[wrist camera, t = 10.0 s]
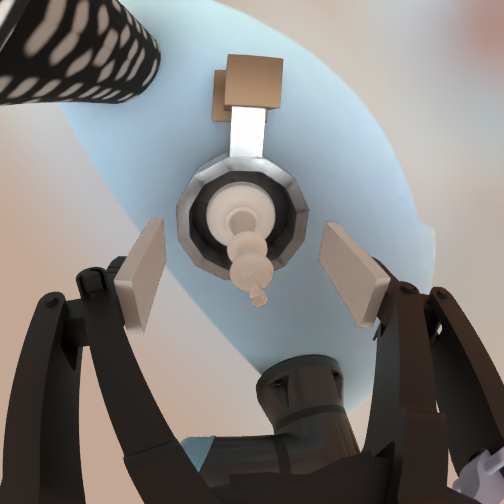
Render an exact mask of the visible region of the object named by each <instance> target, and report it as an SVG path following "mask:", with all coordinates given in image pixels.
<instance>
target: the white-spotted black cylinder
mask: <svg viewBox="0 0 504 504" xmlns="http://www.w3.org/2000/svg"><path fill="white" fill-rule="evenodd" d="M159 65H160V49H159V46H158V44H157V42H156V40H155V39H154V38H153V37H152V36H151V35H150V34H149V33H148V32H147V30H146V29H145V28H144V27H143V26H142V25H141V24H140V23H139V22H138V21H137V20H136V19H135V18H134V17H133V15H132V14H131V13H130V12H129V11H128V10H127V9H126V8H125V7H124V6H123V5H122V4H121V3H120V2H119V1H118V0H0V106H3V105H13V104H25V103H43V102H44V103H45V102H87V103H107V104H118V103H122V102H126V101H128V100H131V99H133V98H135V97H136V96H138V95H140V94H141V93H142V92H143V91H144V90H145V89H146V88H147V87H148V86H149V85H150V84H151V83H152V81H153V79H154V78H155V76H156V74H157V72H158V69H159Z"/></svg>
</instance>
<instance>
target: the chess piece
mask: <svg viewBox="0 0 504 504" xmlns="http://www.w3.org/2000/svg"><path fill="white" fill-rule="evenodd" d="M206 220H207V224H208V227H209V230H210V232H211V234H212V235H213V236H214V238H215V239H216V240H217V241H219V242H220V243H221V244H223V245H225V246H227V253H228V257H229V258H230V260H231V261H232V262H233V263H232V265H231V268H230V278H231V281H232V283H233V284H234V285H235V286H236V287H237V288H238V289H240V290H243V291H246V292H249V295H250V300H251V301H252V303H253V305H254V307H255V306H257V305H258V307H262V306H264V305H266V304H268V301H267V297H266V296H265V294H264V292H263V290H262V289H263V288H265V287H266V286H267V285H268V284H269V283H270V282H271V280H272V278H273V274H274V269H273V265H272V263H271V261H270V260H269V259H268V258H267V257H266V254H267V243H266V241H265V239H266V238H267V237H268V235H269V234H270V233H271V231H272V229H273V226H274V223H275V208H274V204H273V201H272V199H271V197H270V196H269V194H268V193H267V192H266V191H265V190H264V189H262V188H261V187H259V186H258V185H256V184H253V183H249V182H233V183H230V184H227V185H225V186H223V187H222V188H220V189H219V190H218V191H216V192H215V194H214V195H213V196H212V197H211V199H210V201H209V203H208V206H207V210H206Z"/></svg>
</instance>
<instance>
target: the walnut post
mask: <svg viewBox="0 0 504 504" xmlns="http://www.w3.org/2000/svg"><path fill="white" fill-rule="evenodd" d="M282 72H283V59H281V58H272V57H263V56H251V55H235V54H228V59H227V69H226V70H215V76H214V91H213V109H212V121H231V113H232V106H234V107H253V108H265V122H264V123H267V110H271V109H277V108H280V100H281V86H282Z"/></svg>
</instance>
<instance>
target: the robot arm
mask: <svg viewBox="0 0 504 504" xmlns="http://www.w3.org/2000/svg"><path fill="white" fill-rule="evenodd" d="M318 261H319V262H320V264H321V266H322V267H323V269H324V270H325V272H326V273H327V275H328V277H329V278H330V280H331V281H332V283H333V285H334V286H335V288H336V289H337V291H338V293H339V294H340V296H341V298H342V299H343V301H344V302H345V304H346V306H347V307H348V309H349V311H350V312H351V314H352V316H353V317H354V319H355V321H356V322H357V324H358V326H359V328H362V327H370V326H373V324H374V322H375V320H376V317H378V318H379V320H380V321H381V322H380V324H379V326H378V329H377V331H376V333H375V336H374V338H373V341H375V339H376V338H377V353H376V366H375V377H374V386H373V395H372V403H371V410H370V416H369V423H368V429H367V434H366V440H365V444H364V447H363V450H362V451H361V453H360V450H359V447H358V444H357V442H356V439H355V436H354V433H353V431H352V428H351V425H350V423H349V420H348V418H347V415H346V412H345V409H344V406H343V375H342V372H341V370H340V367H339V365H338V363H337V362H336V361H335V360H333V359H331V358H329V357H325V356H318V355H311V356H302V357H297V358H293V359H290V360H287V361H284V362H282V363H280V364H277V365H276V366H274V367H272V368H270V369H269V370H268V371H266V372H265V373H264V374H263V375H262V376H261V377H260V379H259V380H258V382H257V384H256V392H257V399H258V402H259V404H260V405H261V407H262V409H263V410H264V412H265V414H266V416H267V417H268V419H269V421H270V422H271V424H272V425H273V429H274V434H275V435H263V436H242V437H216V436H211V437H188V438H186V439H184V440H183V441H181V443H179V441H178V440H177V439H176V438H175V437H174V435H173V433H172V431H171V430H170V428H169V426H168V424H167V423H166V421H165V419H164V417H163V415H162V413H161V411H160V409H159V407H158V406H157V404H156V402H155V400H154V398H153V396H152V393H151V391H150V389H149V387H148V385H147V383H146V381H145V379H144V377H143V374H142V372H141V370H140V368H139V365H138V363H137V361H136V359H135V356H134V353H133V351H132V349H131V346H130V344H129V341H128V338H127V336H126V334H125V331H124V328H123V327H124V324H125V327H126V330H127V333H130V334H144V332H145V328H146V324H147V321H148V317H149V314H150V310H151V307H152V304H153V300H154V297H155V294H156V291H157V287H158V284H159V281H160V278H161V275H162V272H163V269H164V266H165V263H166V250H165V238H164V224H163V219H150V221H149V222H148V224H147V225H146V227H145V228H144V230H143V231H142V233H141V235H140V236H139V238H138V239H137V241H136V243H135V244H134V246H133V248H132V249H131V251H130V253H129V255H128V256H119V257H117V258H116V259H114V260H113V261H112V262H111V263H110V265H109V266H108V268H107V270H105V269H103V268H101V267H91V268H88V269H85V270H83V271H81V272H80V273H79V274H78V275H77V276H76V282H77V286H78V289H79V292H80V296H81V299H75V300H69V301H66V299H65V296H64V295H63V294H62V293H60V292H50V293H48V294H46V295H44V296H43V297H42V298H41V299H40V300H39V302H38V304H37V307H36V309H35V312H34V315H33V317H32V320H31V323H30V326H29V328H28V331H27V334H26V337H25V340H24V344H23V347H22V351H21V354H20V357H19V361H18V365H17V368H16V372H15V377H14V381H13V385H12V390H11V395H10V400H9V406H8V412H7V419H6V426H5V436H4V449H3V479H2V482H1V485H0V504H86V503H85V493H84V487H83V480H82V471H81V461H80V460H81V459H80V445H79V388H80V373H81V361H82V351H83V346H90V351H91V355H92V359H93V363H94V367H95V371H96V375H97V379H98V382H99V386H100V389H101V392H102V395H103V399H104V402H105V405H106V408H107V411H108V414H109V417H110V420H111V422H112V425H113V428H114V430H115V433H116V435H117V438H118V440H119V443H120V445H121V448H122V450H123V453H124V458H123V459H124V464H125V466H126V468H127V471H128V473H129V475H130V477H131V479H132V481H133V483H134V485H135V487H136V489H137V491H138V492H139V494H140V496H141V498H142V500H143V502H144V504H499V503H500V502H501V501H502V500H503V499H504V384H503V382H502V380H501V378H500V376H499V374H498V372H497V370H496V368H495V366H494V364H493V362H492V360H491V358H490V356H489V354H488V353H487V351H486V349H485V347H484V345H483V344H482V342H481V340H480V338H479V337H478V335H477V333H476V332H475V330H474V328H473V327H472V325H471V323H470V322H469V320H468V319H467V317H466V315H465V314H464V312H463V311H462V309H461V308H460V306H459V305H458V303H457V302H456V300H455V299H454V297H453V296H452V295H451V294H450V292H448V291H447V290H446V289H443V288H442V287H433V288H432V289H431V291H430V294H429V295H425V294H420V293H419V290H418V289H417V288H416V287H415V286H414V285H412V284H410V283H407V282H403V281H400V282H399V281H398V280H397V279H396V278H395V277H394V276H393V274H392V273H391V272H390V271H389V270H388V269H387V268H386V267H385V266H384V265H383V264H382V263H381V262H380V261H379V260H377V259H375V258H374V257H371V256H370V255H369V254H368V253H367V252H366V251H365V250H364V249H363V248H362V247H361V246H360V245H359V244H358V243H357V242H356V241H355V240H354V239H353V238H352V237H351V236H350V235H349V234H348V233H347V232H346V231H345V230H344V229H343V228H342V227H341V226H340V225H339V224H338V223H337V222H325V227H324V233H323V238H322V244H321V249H320V255H319V260H318ZM440 325H442V331H441V333H440V334H438V332H437V330H438V328H439V326H440ZM436 401H437V405H438V408H439V412H440V413H438V412H437V409H436ZM448 448H449V452H450V455H451V460H452V463H453V465H454V468H455V471H456V473H457V475H458V477H459V479H457V480H456V481H455V482H454V483H453V489H451V488H449V487H447V475H448ZM460 492H461V493H460Z"/></svg>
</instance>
